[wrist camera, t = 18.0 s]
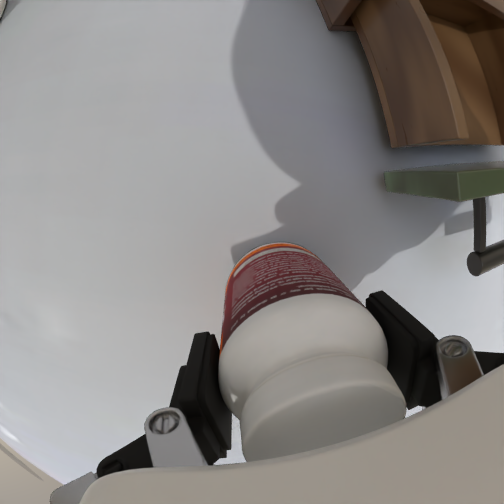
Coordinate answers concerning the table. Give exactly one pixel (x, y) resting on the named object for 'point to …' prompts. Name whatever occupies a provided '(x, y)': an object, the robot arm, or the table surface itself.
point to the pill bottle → (301, 356)
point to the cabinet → (344, 3)
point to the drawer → (440, 98)
